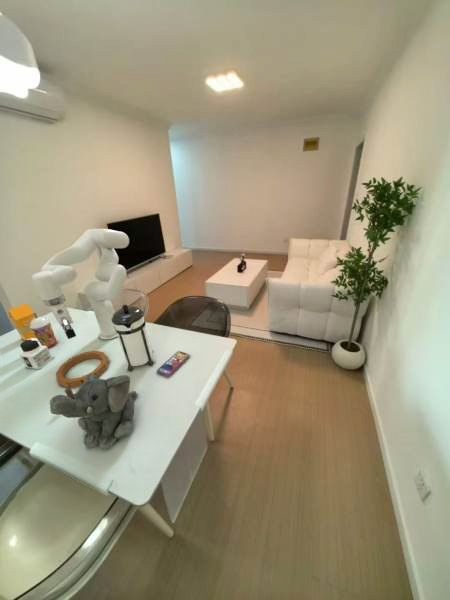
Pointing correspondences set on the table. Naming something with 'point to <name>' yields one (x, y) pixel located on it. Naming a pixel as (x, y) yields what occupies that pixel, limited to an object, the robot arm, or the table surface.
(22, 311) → the orange juice
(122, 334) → the coffee press
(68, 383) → the orange-brown ring
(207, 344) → the table surface
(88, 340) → the table surface
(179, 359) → the smartphone
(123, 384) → the stuffed elephant
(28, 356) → the container
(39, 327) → the smoothie
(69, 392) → the spindle
